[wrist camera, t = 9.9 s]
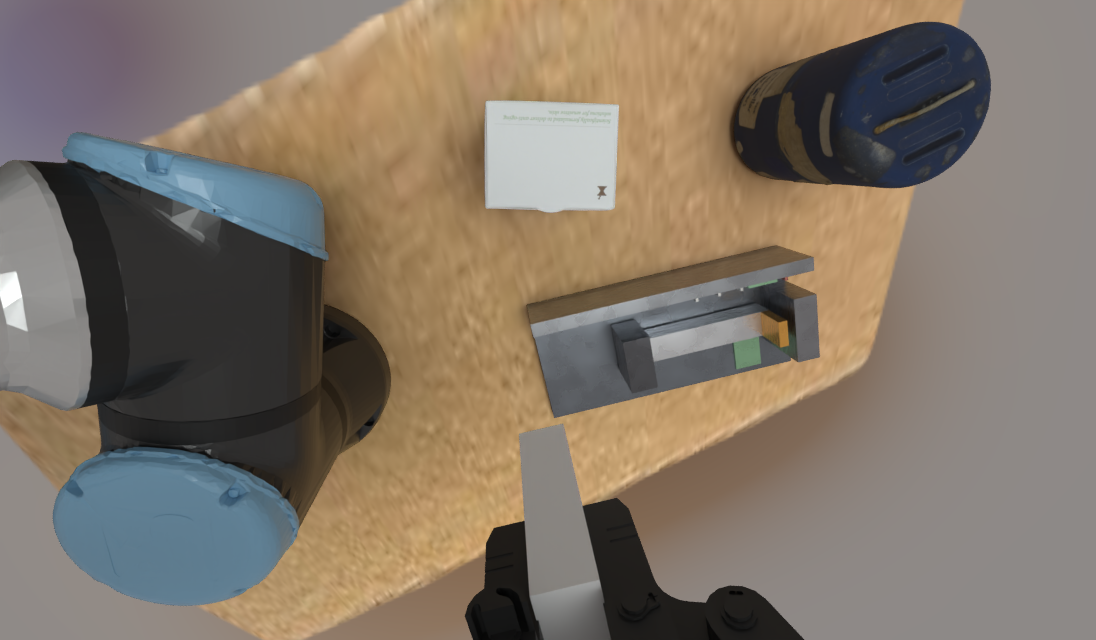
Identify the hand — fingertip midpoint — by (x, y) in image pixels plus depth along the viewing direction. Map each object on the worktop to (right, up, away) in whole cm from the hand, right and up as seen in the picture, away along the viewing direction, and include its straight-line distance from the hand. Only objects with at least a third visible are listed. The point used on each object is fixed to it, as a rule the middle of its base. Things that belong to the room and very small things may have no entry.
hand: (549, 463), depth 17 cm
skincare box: (-1, +19, +28) cm, 34 cm away
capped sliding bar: (+14, +4, +33) cm, 36 cm away
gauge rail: (+11, +4, +34) cm, 36 cm away
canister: (+21, +23, +29) cm, 42 cm away
